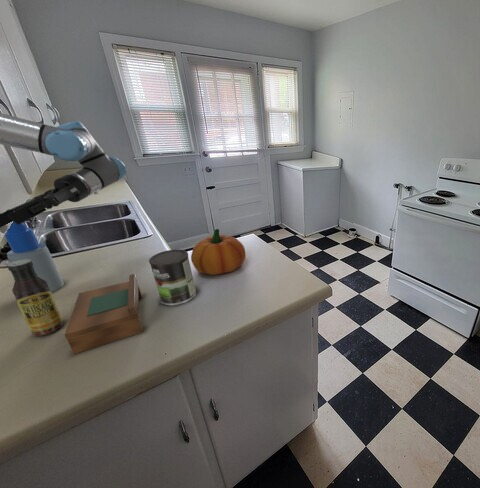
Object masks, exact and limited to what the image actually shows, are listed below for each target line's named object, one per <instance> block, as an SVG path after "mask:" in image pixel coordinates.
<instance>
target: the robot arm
mask: <svg viewBox="0 0 480 488" xmlns="http://www.w3.org/2000/svg"><path fill="white" fill-rule="evenodd" d="M0 145H2V146H6V147H11V148H16V149H21V150H26V151H30V152H35V153H39V154H44V155H48V156H52V157H55V158H57V159H59V160H62V161H66V162H77V161H78V163H79V164H80V165H81V166H82V167H81V168H78V169H76V170H73V171H71V172H69V173H68V174H65V175H62V176H61V177H58V178H56V179H55V180H54V181H53V188H51V189H49V190H46V191H44V193H42V194H38V195H37V196H35V197H34V198H32V199H31V200H28V201H26V202H24V203H21V204H19V205H17V206H15V207H12V208H8V209H6V210H5V211H4V212H3V211H2V212H1V213H0V228H2V227H5V225H6V224H8V223H10V222H12V221H14V222H15V223H16V224H17V225H18V224H21V223H25V222H26V221H28V220H30V219H32V218H34V217H37V216H38V215H40V214H42V213H44V212H47V210H51V209H52V208H53V207H59V205H61V204H62V203H65V202H67V201H68V202H71V203H78V202H81V201H83V200H85V199H86V198H88V197H90V196H91V195H98V194H99V191H101V190H103V189H105V188H107V187H108V186H111V185H112V184H115V183H116V182H118V181H120V180H121V179H123V178H125V177H126V175H127V167H126V165H125V164H124V162H123V161H121V160H120V159H119V158H118V157H116V156H111V155H110V156H108V155H107V153H106V152H105V151H104V150H103V148H102V147H101V146H100V145H99V143H98V142H97V141H96V139H95V138H94V137H93V136H92V134H91V133H90V130H88V129H87V127H85V126H84V124H83V123H82V122H81V121H78V120H73V121H69V122H66V123H63V124H60V125H57V126H54V125H49V124H45V123H41V122H37V121H33V120H29V119H25V118H22V117H19V116H14V115H10V114H7V113H4V112H3V113H2V112H0Z"/></svg>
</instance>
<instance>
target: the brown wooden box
mask: <svg viewBox="0 0 480 488" xmlns="http://www.w3.org/2000/svg"><path fill="white" fill-rule="evenodd" d="M141 298H142V299H143V294H142V290H141V288H140V285H139V282H138V279H137V275H136V273H132V274H129V275H128V281H124V282H120V283H119V282H118V283H116V284H111V285H107V286H102V287H99V288H98V287H97V288H95V289H94V288H93V289H91V290H86V291H81V292H79V293H78V295H77V298H76V301H75V303H74V307H73V309H72V312H71V315H70V318H69V320H68V324H67V326H66V329H65V332H64V337H65V338H66V340H67V343H68V345H69V346H70V348H71V351H72V353H73V354H74V355H76V354H79V353H82V352H86V351H89V350H92V349H95V348H98V347H101V346H104V345H107V344H110V343H113V342H117V341H120V340H123V339H126V338H129V337H132V336H134V335H138V334H141V333H144V327H143V324H142V321H141V318H140V315H139V299H141Z"/></svg>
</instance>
